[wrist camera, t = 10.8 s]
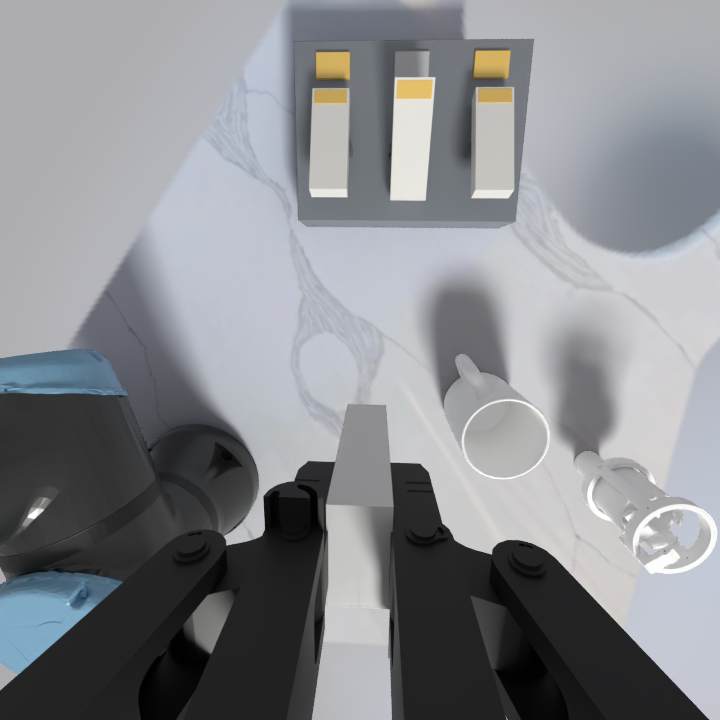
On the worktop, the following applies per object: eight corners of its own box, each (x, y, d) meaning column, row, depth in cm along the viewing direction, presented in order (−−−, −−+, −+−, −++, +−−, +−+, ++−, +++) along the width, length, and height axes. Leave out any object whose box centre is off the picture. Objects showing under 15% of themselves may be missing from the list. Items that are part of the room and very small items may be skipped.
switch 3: (471, 198, 32) (475, 189, 31) (471, 99, 33) (476, 86, 31) (508, 198, 32) (514, 189, 31) (508, 99, 33) (514, 86, 31)
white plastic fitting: (546, 458, 46) (625, 543, 31) (595, 424, 45) (702, 497, 30) (578, 497, 47) (670, 597, 32) (627, 465, 46) (745, 554, 31)
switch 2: (389, 198, 35) (390, 200, 34) (394, 80, 30) (394, 77, 29) (423, 199, 35) (425, 200, 33) (433, 80, 30) (435, 76, 29)
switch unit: (307, 226, 41) (294, 217, 35) (304, 71, 38) (290, 30, 31) (498, 228, 40) (521, 219, 34) (513, 70, 37) (541, 27, 31)
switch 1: (311, 197, 33) (308, 188, 31) (315, 100, 33) (312, 87, 32) (347, 197, 33) (346, 188, 31) (350, 100, 33) (349, 87, 32)
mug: (419, 359, 44) (432, 384, 34) (485, 330, 43) (518, 347, 33) (457, 444, 46) (480, 491, 36) (521, 419, 45) (562, 460, 35)
